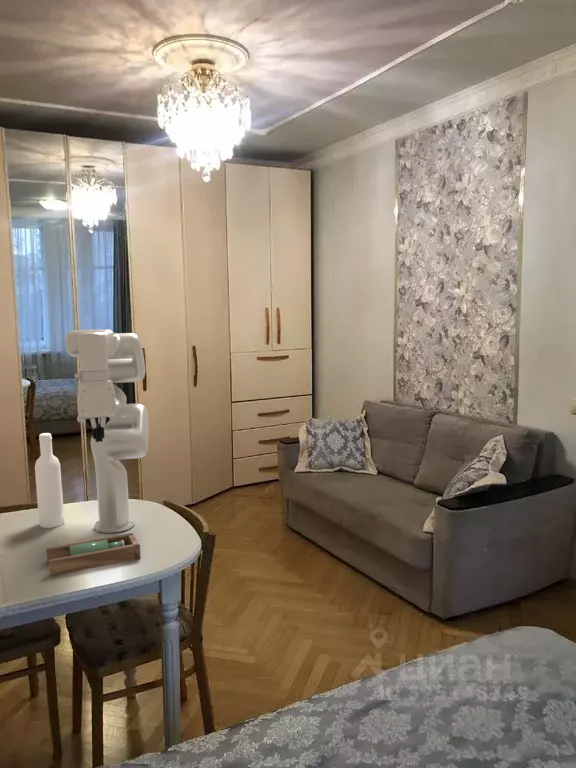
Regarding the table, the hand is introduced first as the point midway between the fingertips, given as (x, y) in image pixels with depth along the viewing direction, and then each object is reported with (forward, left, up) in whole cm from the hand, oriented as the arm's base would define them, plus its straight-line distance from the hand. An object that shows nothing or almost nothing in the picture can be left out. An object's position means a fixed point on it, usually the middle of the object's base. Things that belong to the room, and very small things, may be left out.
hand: (98, 440), depth 179 cm
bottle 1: (-32, -12, -33) cm, 48 cm away
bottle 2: (+3, -10, -31) cm, 32 cm away
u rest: (+4, -5, -33) cm, 34 cm away
